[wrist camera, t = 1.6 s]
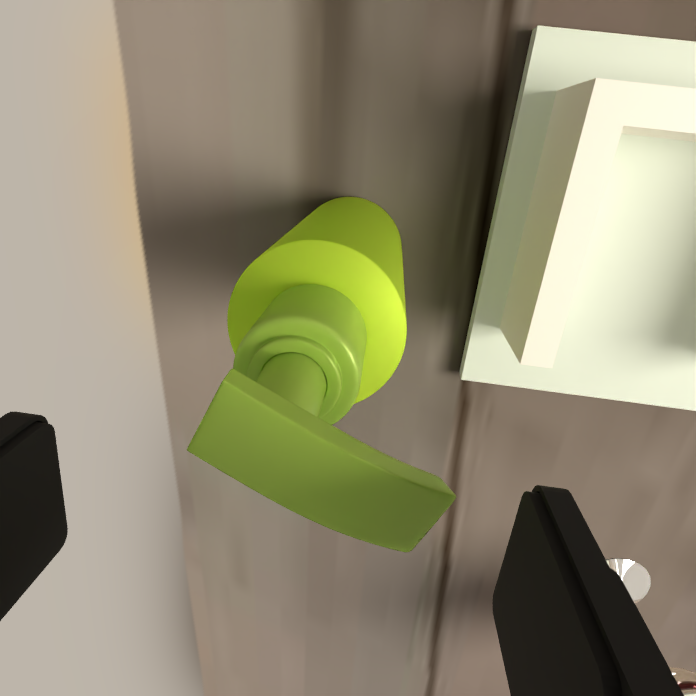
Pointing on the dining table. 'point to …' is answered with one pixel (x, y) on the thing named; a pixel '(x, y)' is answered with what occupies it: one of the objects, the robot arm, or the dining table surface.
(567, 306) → the u rest
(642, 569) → the wineglass
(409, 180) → the dining table surface
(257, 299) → the soap dispenser
